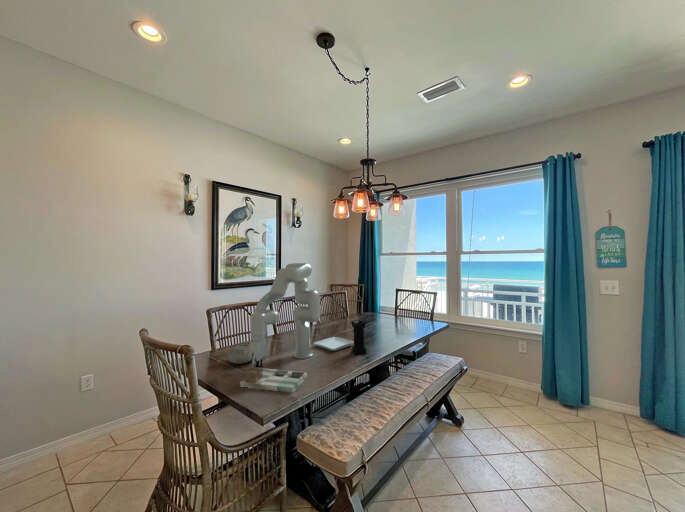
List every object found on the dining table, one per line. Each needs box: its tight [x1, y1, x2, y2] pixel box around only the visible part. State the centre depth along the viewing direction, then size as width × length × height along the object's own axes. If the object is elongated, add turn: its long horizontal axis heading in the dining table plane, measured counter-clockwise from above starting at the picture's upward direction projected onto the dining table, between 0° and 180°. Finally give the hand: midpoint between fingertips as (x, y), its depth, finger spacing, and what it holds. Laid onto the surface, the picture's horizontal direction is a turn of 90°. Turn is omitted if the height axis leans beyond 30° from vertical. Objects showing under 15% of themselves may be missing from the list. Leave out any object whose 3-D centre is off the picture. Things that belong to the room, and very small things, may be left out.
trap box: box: [239, 367, 308, 394], centre depth 144 cm, size 18×28×2 cm, turn 75°
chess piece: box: [350, 320, 368, 356], centre depth 184 cm, size 8×8×20 cm
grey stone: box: [227, 343, 251, 365], centre depth 173 cm, size 18×18×10 cm
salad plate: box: [313, 336, 354, 352], centre depth 199 cm, size 21×21×3 cm
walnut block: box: [244, 366, 262, 383], centre depth 141 cm, size 6×6×5 cm
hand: (259, 372), depth 146 cm, fingers closed
